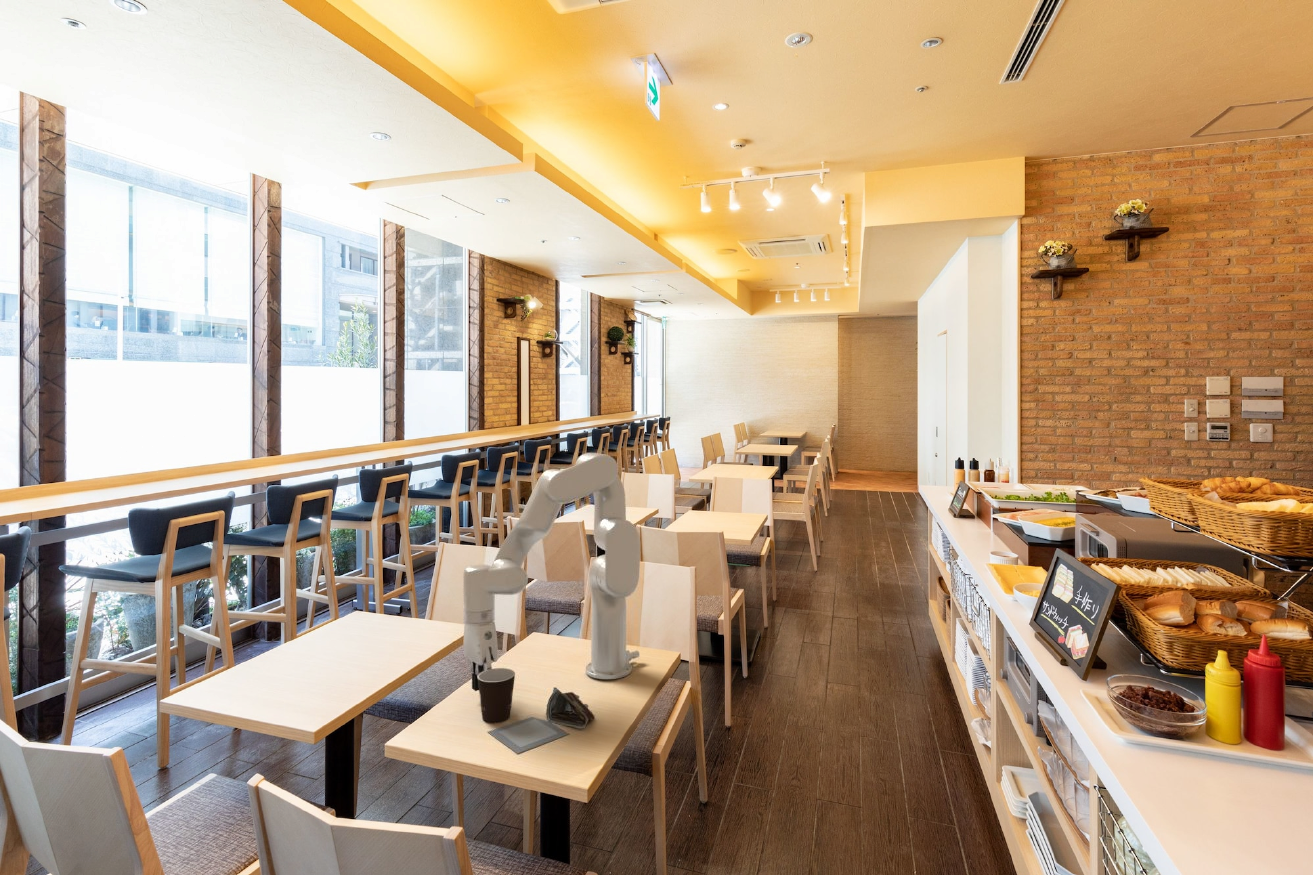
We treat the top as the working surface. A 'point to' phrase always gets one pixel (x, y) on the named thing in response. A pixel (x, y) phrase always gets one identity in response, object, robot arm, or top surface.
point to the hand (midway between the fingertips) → (479, 688)
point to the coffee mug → (496, 694)
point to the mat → (527, 734)
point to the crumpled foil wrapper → (567, 702)
